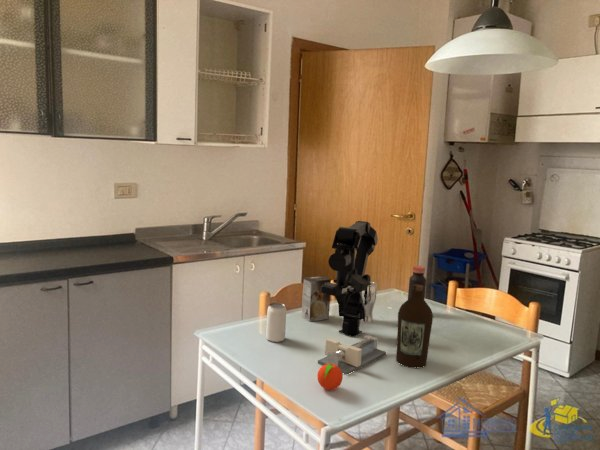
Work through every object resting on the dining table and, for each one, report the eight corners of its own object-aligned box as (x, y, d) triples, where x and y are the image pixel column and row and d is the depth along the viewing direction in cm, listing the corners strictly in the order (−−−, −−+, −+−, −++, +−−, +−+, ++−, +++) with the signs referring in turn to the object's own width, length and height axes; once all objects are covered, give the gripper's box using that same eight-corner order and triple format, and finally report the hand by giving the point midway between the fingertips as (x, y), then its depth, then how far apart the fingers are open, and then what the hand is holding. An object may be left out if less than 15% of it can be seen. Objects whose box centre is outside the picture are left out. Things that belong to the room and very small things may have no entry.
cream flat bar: (328, 353, 156) (330, 338, 156) (360, 365, 149) (361, 349, 148) (325, 354, 155) (326, 339, 154) (357, 367, 147) (358, 351, 146)
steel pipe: (366, 345, 166) (367, 334, 165) (376, 348, 163) (377, 338, 163) (326, 364, 149) (327, 352, 149) (337, 368, 146) (338, 356, 146)
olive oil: (397, 353, 163) (403, 279, 160) (430, 359, 160) (437, 284, 156) (391, 365, 153) (397, 286, 150) (425, 372, 150) (433, 292, 146)
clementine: (336, 398, 130) (338, 373, 129) (311, 392, 133) (313, 367, 132) (344, 386, 138) (346, 361, 137) (321, 380, 140) (322, 356, 139)
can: (282, 343, 166) (284, 309, 164) (263, 341, 167) (265, 306, 165) (286, 336, 172) (288, 303, 170) (268, 334, 173) (270, 301, 172)
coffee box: (320, 314, 199) (323, 275, 197) (329, 319, 194) (331, 279, 191) (300, 316, 194) (303, 277, 192) (309, 321, 189) (311, 281, 187)
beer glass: (377, 320, 195) (380, 283, 193) (369, 324, 190) (372, 286, 187) (361, 316, 199) (363, 280, 197) (353, 320, 193) (356, 283, 191)
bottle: (424, 316, 203) (429, 269, 201) (408, 315, 203) (412, 268, 201) (421, 311, 210) (425, 265, 207) (405, 310, 210) (409, 264, 207)
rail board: (357, 345, 168) (357, 342, 168) (385, 354, 161) (386, 351, 161) (317, 363, 151) (317, 360, 151) (347, 375, 144) (347, 371, 144)
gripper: (349, 274, 152) (346, 322, 154) (381, 265, 166) (377, 310, 168) (321, 267, 159) (318, 313, 161) (353, 260, 173) (350, 303, 175)
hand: (342, 310), depth 166 cm, fingers closed
